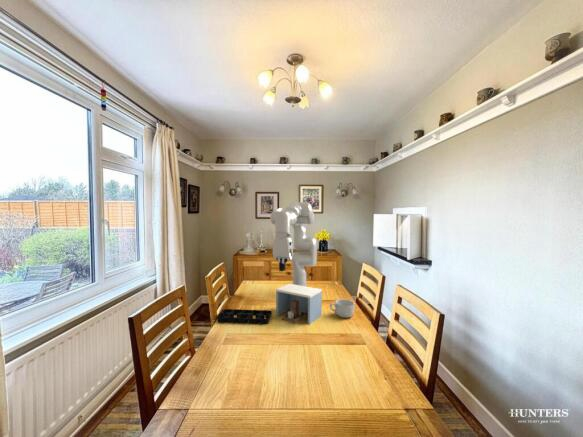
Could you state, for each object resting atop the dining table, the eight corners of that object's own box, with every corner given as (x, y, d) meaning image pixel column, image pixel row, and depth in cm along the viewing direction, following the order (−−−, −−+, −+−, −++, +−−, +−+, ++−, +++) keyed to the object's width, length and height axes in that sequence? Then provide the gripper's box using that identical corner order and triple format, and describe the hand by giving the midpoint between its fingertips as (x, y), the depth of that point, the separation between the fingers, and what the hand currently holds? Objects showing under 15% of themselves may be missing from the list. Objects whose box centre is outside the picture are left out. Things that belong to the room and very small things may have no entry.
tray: (294, 313, 156) (294, 296, 155) (307, 317, 150) (307, 299, 150) (282, 320, 146) (282, 302, 146) (295, 324, 141) (295, 305, 140)
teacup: (352, 312, 156) (353, 299, 156) (355, 320, 146) (355, 305, 146) (329, 311, 158) (329, 298, 158) (330, 319, 147) (330, 304, 147)
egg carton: (219, 315, 153) (219, 308, 153) (271, 312, 157) (271, 306, 157) (214, 328, 136) (214, 321, 136) (272, 325, 140) (272, 318, 139)
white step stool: (289, 307, 164) (289, 283, 163) (321, 315, 152) (321, 289, 152) (276, 315, 152) (276, 289, 151) (309, 324, 140) (310, 295, 140)
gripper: (298, 235, 136) (298, 271, 136) (274, 234, 144) (274, 267, 144) (290, 236, 129) (290, 274, 130) (266, 235, 137) (266, 270, 138)
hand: (282, 270), depth 137 cm, fingers closed
